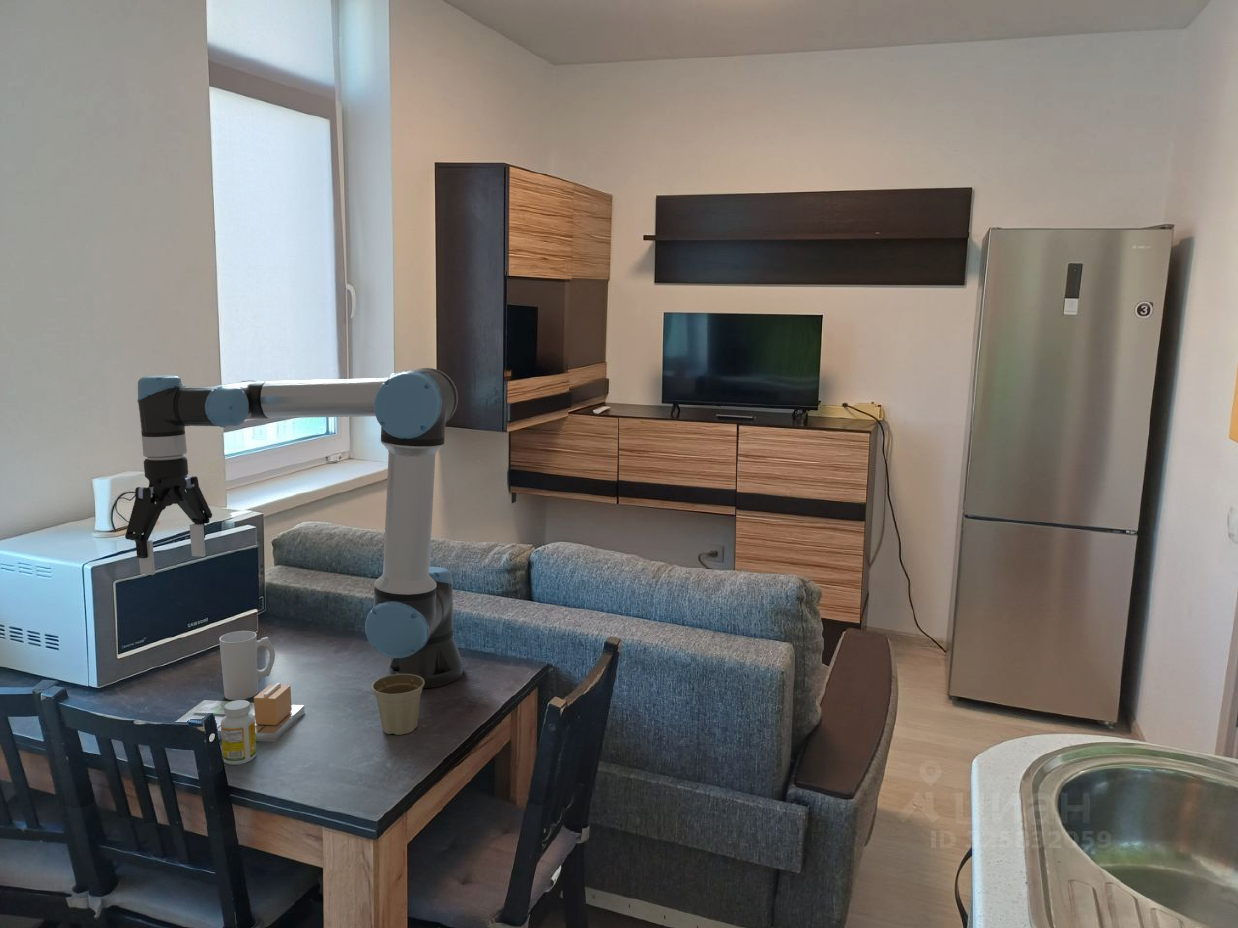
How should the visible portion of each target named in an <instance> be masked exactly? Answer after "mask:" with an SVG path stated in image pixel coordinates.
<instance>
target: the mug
mask: <svg viewBox="0 0 1238 928" xmlns="http://www.w3.org/2000/svg"><path fill="white" fill-rule="evenodd" d="M257 635H258V634H257V633H256V632H255V631H251V630H238V631H237V630H236V631H232V632H228V633H225V634H223V635H221V636H220V637H218V638H219V649H220V653H219V654H220V660H221V661H220V662H221V673H222V683H223V685H222V686H223V693H224V698H225V699H226V700H230V701H236V700H248V699H250V698H254V697H255V696H256V695H258V694H259V680H260V679H261V678H265V677H269V676H270V675H271V672H272V669H273V665H274V663H275V659H276V650H275V648H274V646H273V644H272V643H271V641H270V639H269V637H268V636H265V637H261V638H260V639H258V640H257ZM259 647H265V648H266V649H267V651H268V652H269V653H268V654H269V657H268V662H267V664H266V666H265V667H264V668H263V669H259V667H258V649H259Z"/></svg>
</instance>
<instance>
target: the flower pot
mask: <svg viewBox="0 0 1238 928" xmlns="http://www.w3.org/2000/svg"><path fill="white" fill-rule="evenodd" d="M424 684H425V681H424V679H423V678H422V677H420V676H417V675H413V674H394V675H389V674H388V675H385V676H382V677H380V678H378V679H376V680H374V681H373V682H372V683H371V686H370V687H371V691H372V692H373V694H374V697H375V698H376V701H377V702H376V703H377V707H378V712H379V717H380V723H381V728H382V731H383V732H384V733H385V734H387V735H392V734H394V735H396V736H402V735H406V734H409V733H412V732H413V731H415V729H416V728H417V727H418V721H419V712H420V701H421V694H422V692H423V688H422V687H423V686H424Z"/></svg>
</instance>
